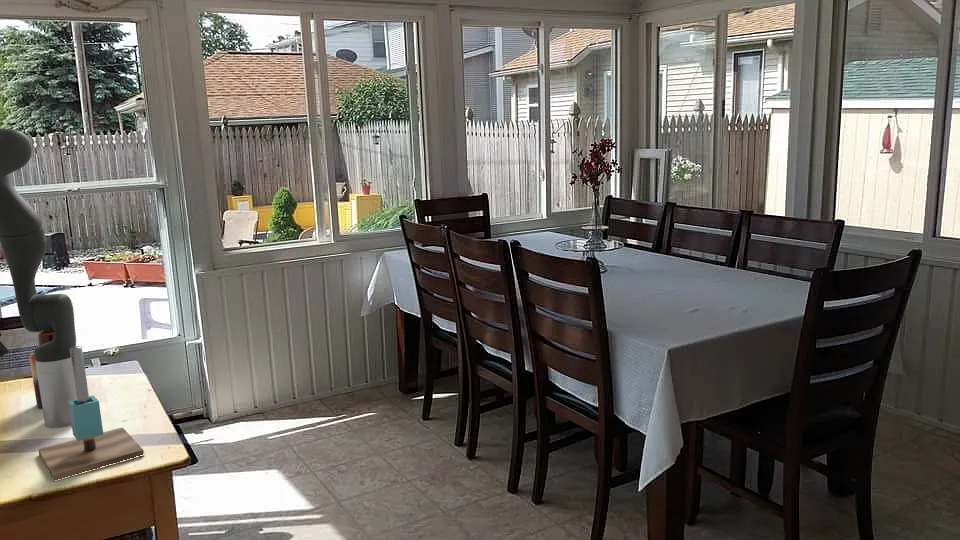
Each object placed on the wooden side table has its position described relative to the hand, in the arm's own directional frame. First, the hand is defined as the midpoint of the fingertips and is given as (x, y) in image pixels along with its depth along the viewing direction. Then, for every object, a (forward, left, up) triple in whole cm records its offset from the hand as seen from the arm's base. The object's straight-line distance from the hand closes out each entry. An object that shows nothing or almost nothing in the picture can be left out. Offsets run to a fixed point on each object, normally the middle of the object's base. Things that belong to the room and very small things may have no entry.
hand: (0, 345), depth 161 cm
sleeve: (+6, +14, -22) cm, 27 cm away
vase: (-39, +6, -27) cm, 48 cm away
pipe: (+6, +14, -26) cm, 30 cm away
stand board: (+6, +14, -27) cm, 31 cm away
